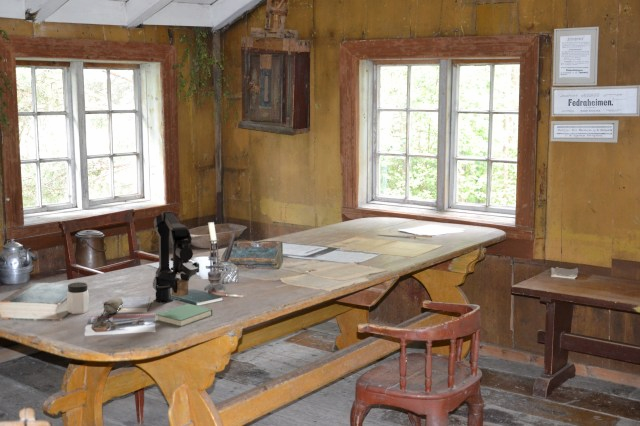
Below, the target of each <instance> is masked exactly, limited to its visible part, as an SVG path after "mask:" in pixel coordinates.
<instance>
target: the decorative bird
mask: <svg viewBox="0 0 640 426" xmlns="http://www.w3.org/2000/svg"><path fill="white" fill-rule="evenodd" d="M122 304H123V305H124V301H123V299H122V298H121V297H115V298H112V299H108V300H106V301H105V302H103V304H102V305H103V312H102V313H101V314H100V315H101V316H100V317H102V316H104V314H105V313H107V316H110V315H113V314H115V313H117V312H116V311H117V310H118V308H119V306H120V305H122ZM123 305H122V306H123ZM119 309H120V308H119ZM118 311H119V310H118Z"/></svg>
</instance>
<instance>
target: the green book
mask: <svg viewBox="0 0 640 426" xmlns="http://www.w3.org/2000/svg"><path fill="white" fill-rule="evenodd" d="M155 316H157V319H156V321H157V322H161V323H165V324H170V325H173V326H175V327H176V326H177V327H184V326H186V325H189V324H191V323H195V322H198V321H200V320H202V319H203V320H204V319H206V318H208V317H211V316H213V309H212V308H209V307H205V306H200V305H196V304H191V303H185V304H182V305H180V306H176V307H174V308H171V309H168V310H166V311H162V312H159V313H156V314H155Z"/></svg>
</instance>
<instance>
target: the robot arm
mask: <svg viewBox="0 0 640 426" xmlns="http://www.w3.org/2000/svg"><path fill="white" fill-rule="evenodd" d="M153 226H154V227H153V228H154V230H155V232H156V233H157V235H158V268H157V269H156V271H155V275H154V278H153V281H152V288H153V289H154V290H155V299H154V300H153V302H155V303H161V304H166V303H169V302H172V301H174V299H173V298H172V297H171V296H172V292H171V287H172V289H173V291H174V293H177V281H178V280H179V279H182V280H187V281H188V282H189V281H190V279H191V278H192V277H193V276H195V275H197V273H200V263H199V262H198V261H195V262H190V260H191V259H192V258H193V255H194V252H193V250H192V248H190V247H189V245H190V244H191V245H192V240H193V239H192V235H191V232H190V231H189V230H190V229H189V228H188V227H187V225H185V224H183V223H182V224H181V223H180V222H179V220H178V219H177V217H176V215H175V212H174V211H172V210H171V211H170V210H169V211H162V212H161V213H160V214H158V215H156V216H155V217H154V220H153ZM170 241H171V244H172V257H171V258H170ZM170 262H172V267H170ZM178 275H179V276H180V278H179V277H178Z"/></svg>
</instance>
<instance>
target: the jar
mask: <svg viewBox="0 0 640 426" xmlns="http://www.w3.org/2000/svg"><path fill="white" fill-rule="evenodd" d="M89 299H90V297H89V290H88V284H87V283H86V282H82V281H81V282H71V283H68V284H67V291H66V300H67V301H66V304H67V306H66V308H67V312H68V313H70V314H72V315H80V314H85V313H87V312H89V311H90V302H89V301H90V300H89Z"/></svg>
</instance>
